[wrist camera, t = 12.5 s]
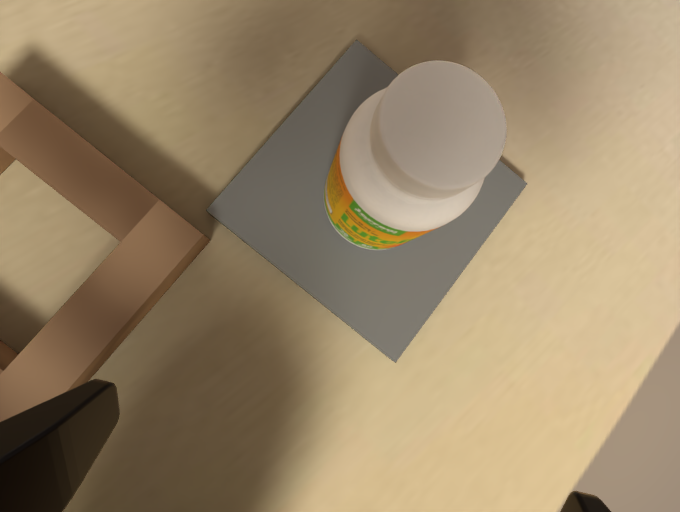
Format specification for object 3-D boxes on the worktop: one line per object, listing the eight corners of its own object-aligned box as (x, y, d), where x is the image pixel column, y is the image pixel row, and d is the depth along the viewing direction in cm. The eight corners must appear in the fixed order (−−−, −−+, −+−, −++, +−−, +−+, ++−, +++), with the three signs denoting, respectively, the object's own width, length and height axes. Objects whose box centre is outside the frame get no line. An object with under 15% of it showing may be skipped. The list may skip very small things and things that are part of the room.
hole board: (35, 442, 20) (8, 458, 18) (-184, 276, 19) (-238, 274, 17) (210, 240, 22) (203, 234, 20) (15, 84, 21) (-12, 62, 19)
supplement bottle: (316, 244, 22) (343, 199, 12) (328, 140, 22) (364, 20, 13) (420, 257, 22) (524, 225, 13) (429, 157, 23) (535, 54, 13)
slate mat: (392, 360, 22) (395, 362, 22) (208, 212, 22) (205, 210, 21) (521, 186, 24) (527, 183, 24) (354, 46, 24) (356, 39, 23)
